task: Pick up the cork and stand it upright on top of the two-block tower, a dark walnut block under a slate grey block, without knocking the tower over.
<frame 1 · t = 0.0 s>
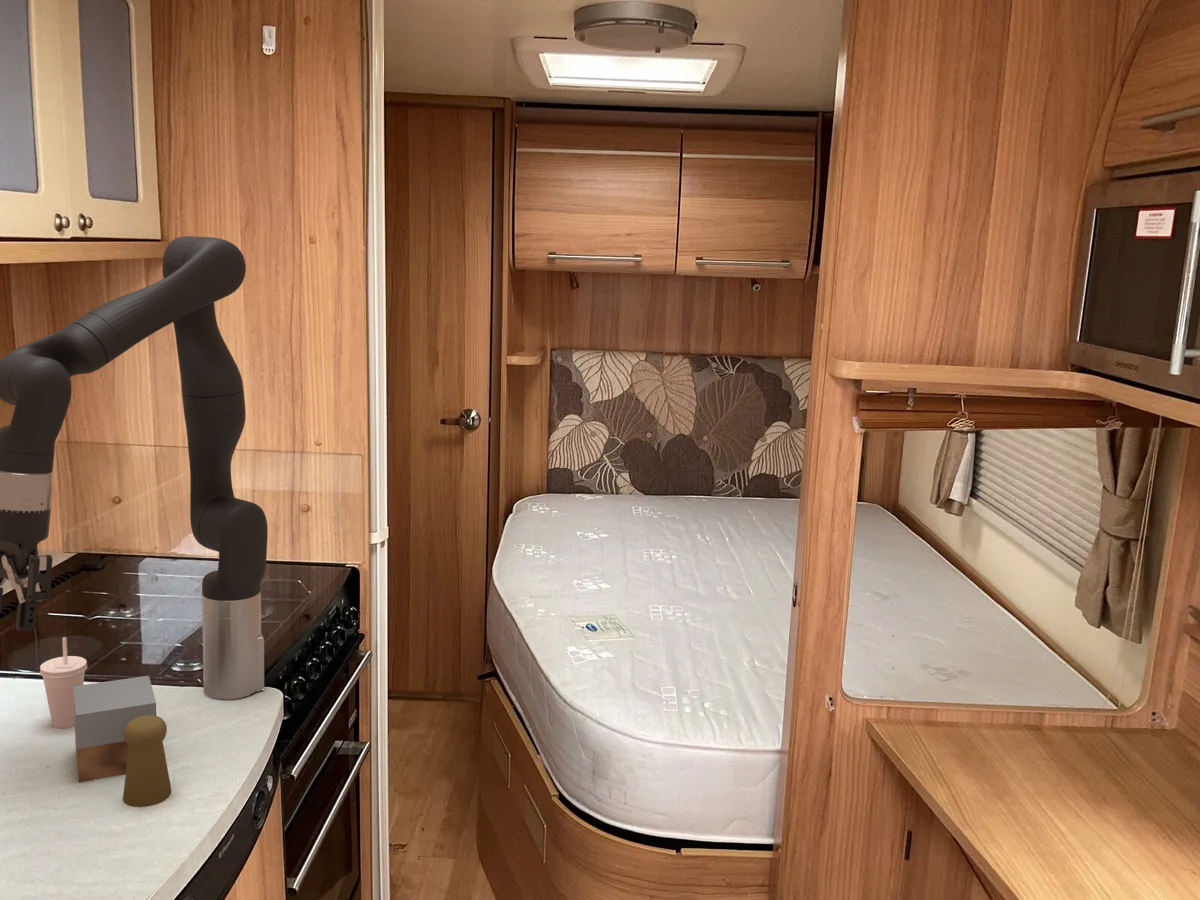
hand: (7, 622, 131), 22 cm above the worktop, tool pointing down, fingers open, 8 cm apart
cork: (147, 796, 132), on the worktop
smoothie: (66, 723, 150), on the worktop
walnut base block: (116, 758, 141), on the worktop
slate top block: (115, 726, 140), point 5 cm above the worktop, touching walnut base block
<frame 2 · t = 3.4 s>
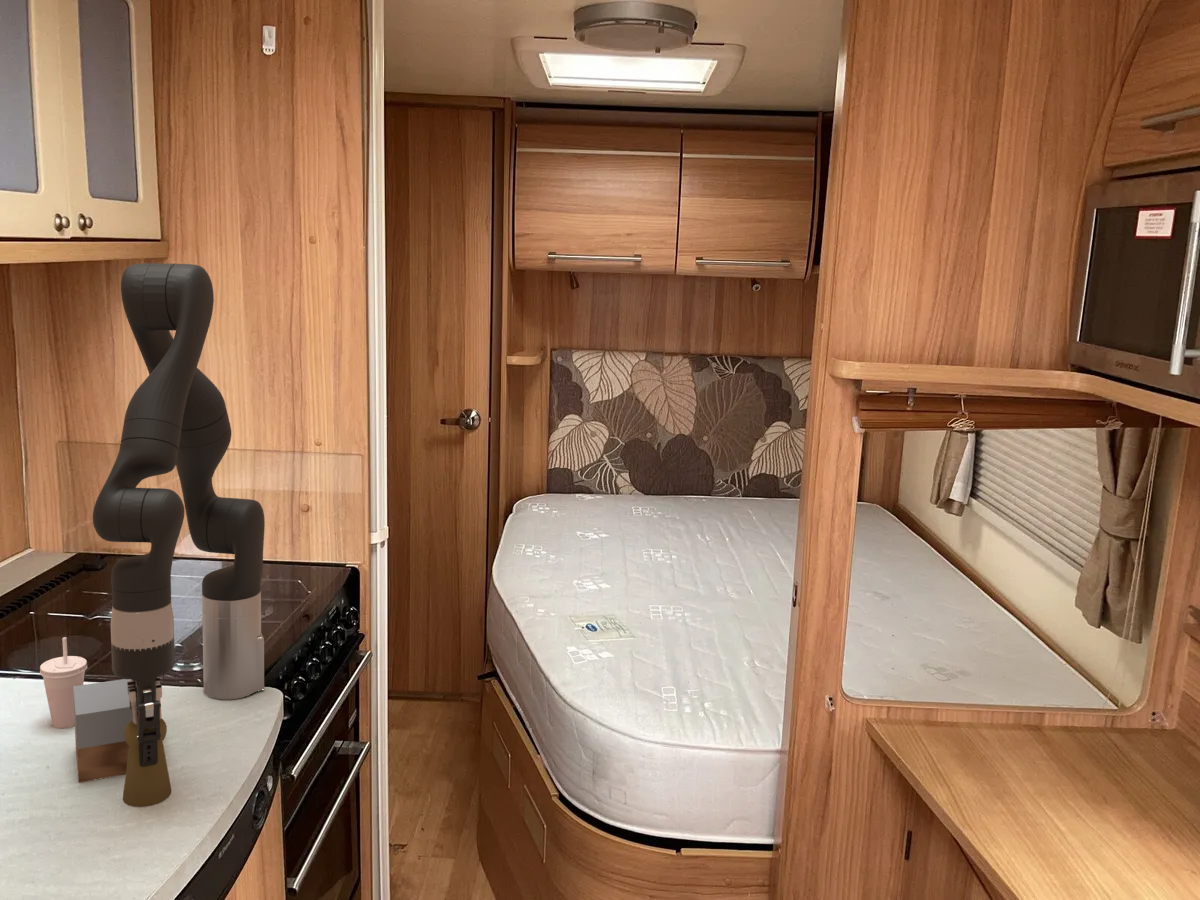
hand: (146, 754, 131), 6 cm above the worktop, tool pointing down, fingers closed on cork, 5 cm apart
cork: (147, 796, 132), on the worktop, touching gripper
everything else where it was.
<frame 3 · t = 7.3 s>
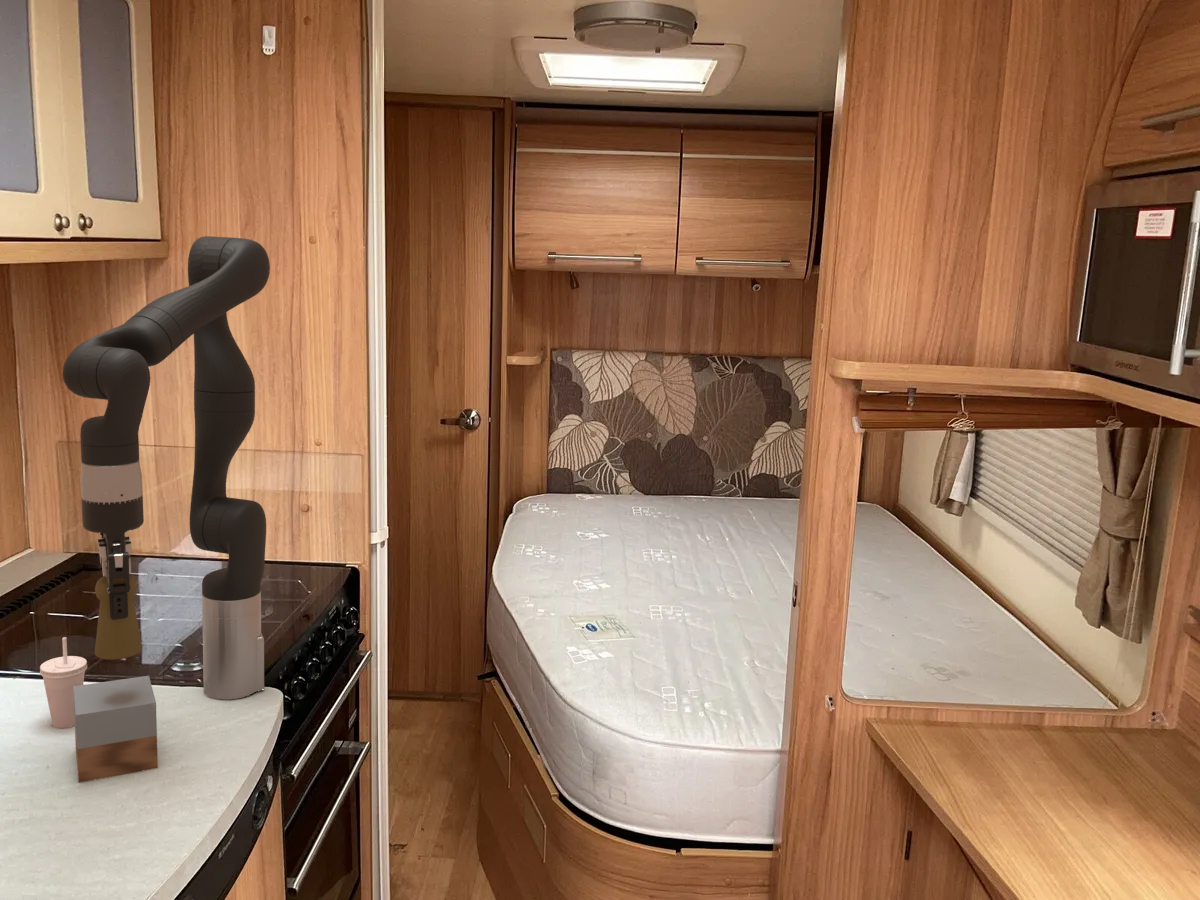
hand: (117, 610, 135), 23 cm above the worktop, tool pointing down, fingers closed on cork, 5 cm apart
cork: (118, 652, 137), point 17 cm above the worktop, touching gripper
everything else where it was.
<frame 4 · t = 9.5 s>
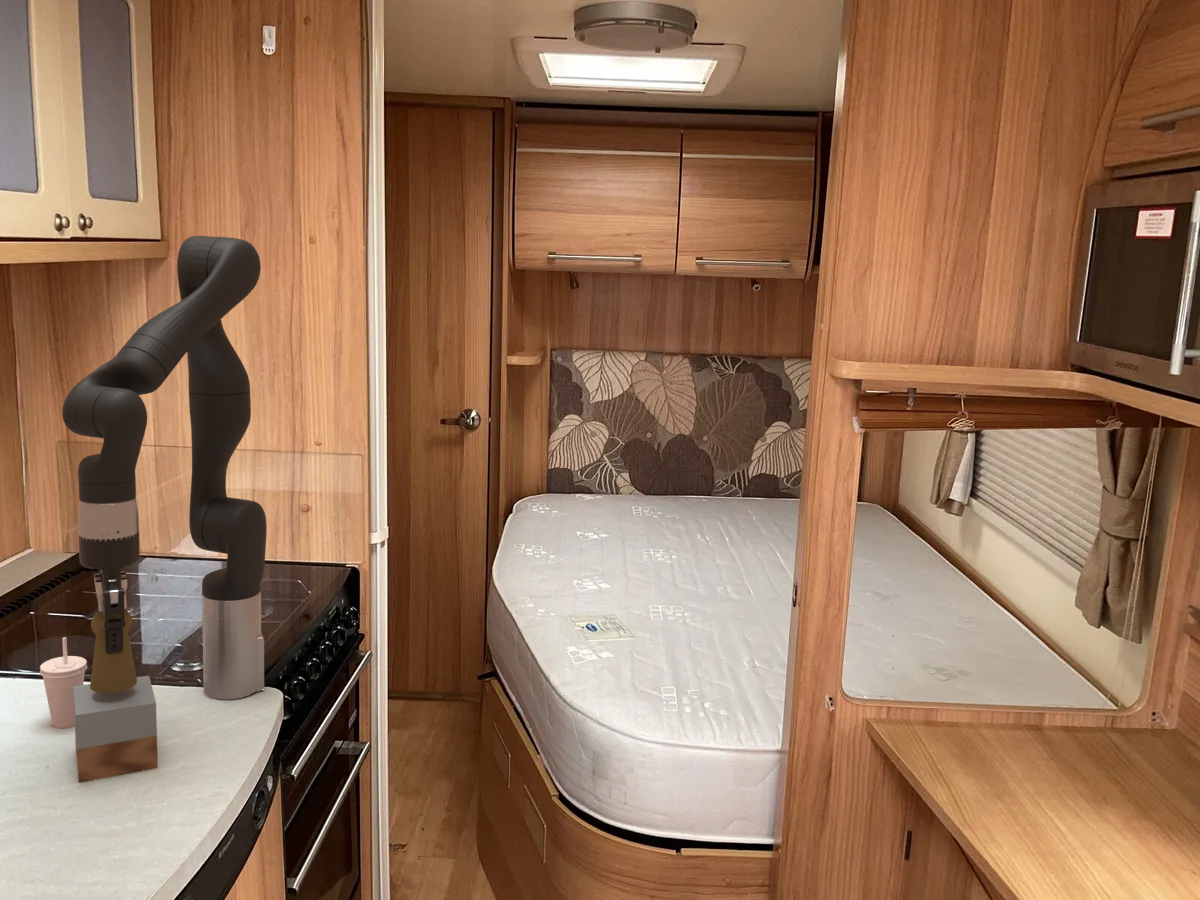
hand: (112, 644, 138), 17 cm above the worktop, tool pointing down, fingers closed on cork, 5 cm apart
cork: (113, 685, 139), point 11 cm above the worktop, touching gripper
everything else where it was.
when the fingers open (16 cm above the worktop, at t = 11.3 s): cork stays where it is, resting on slate top block.
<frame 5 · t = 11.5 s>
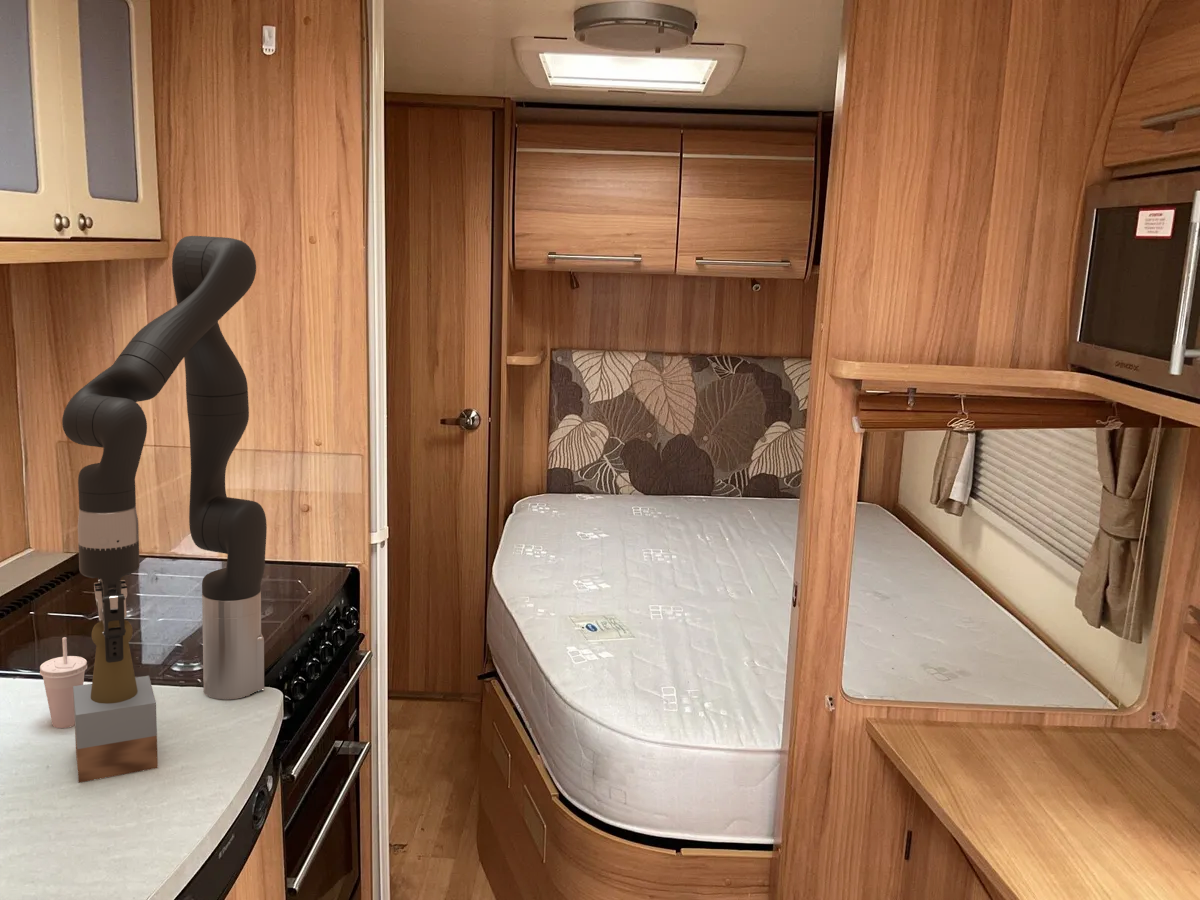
hand: (112, 651, 138), 17 cm above the worktop, tool pointing down, fingers open, 7 cm apart
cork: (114, 695, 139), point 10 cm above the worktop, touching slate top block
slate top block: (115, 726, 140), point 5 cm above the worktop, touching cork, walnut base block
everything else where it was.
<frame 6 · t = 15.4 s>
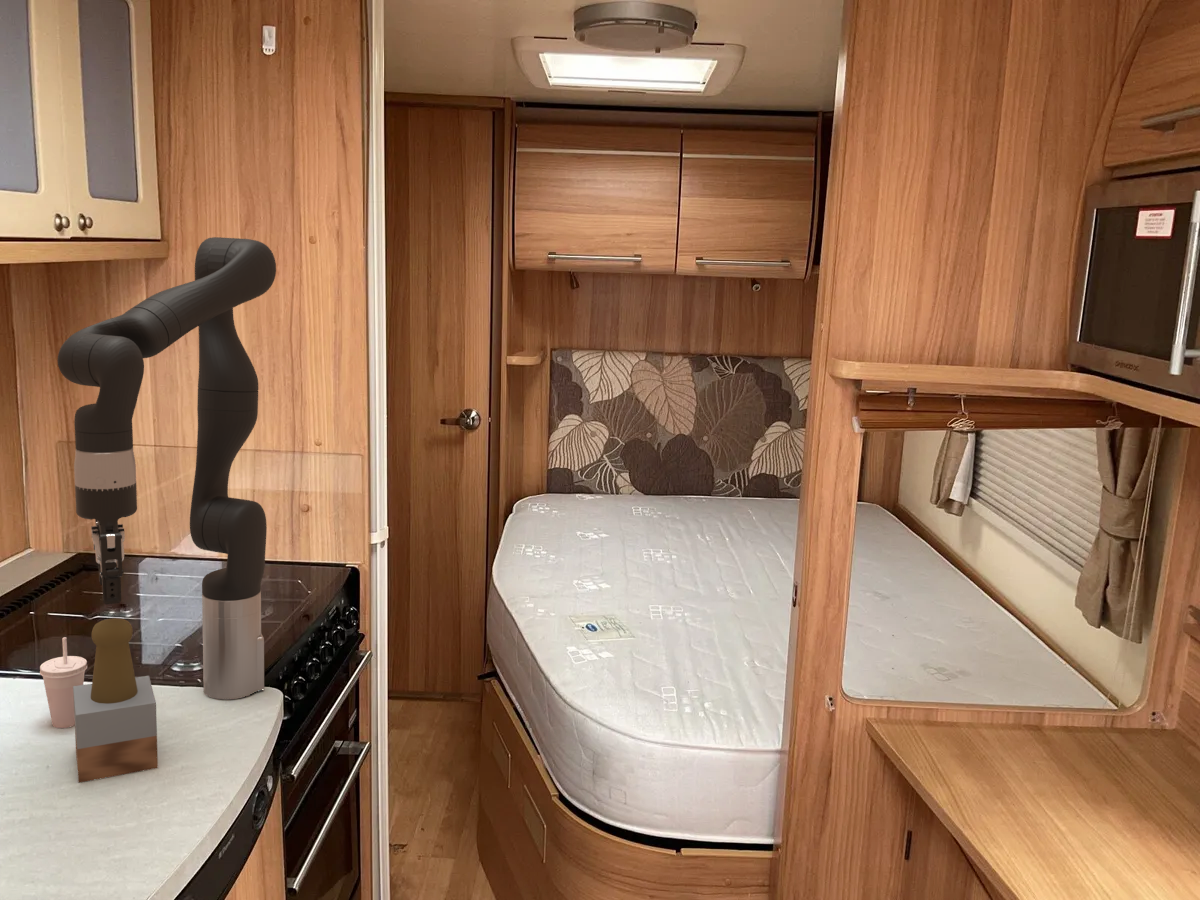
hand: (110, 593, 136), 25 cm above the worktop, tool pointing down, fingers open, 8 cm apart
nothing on the worktop moved.
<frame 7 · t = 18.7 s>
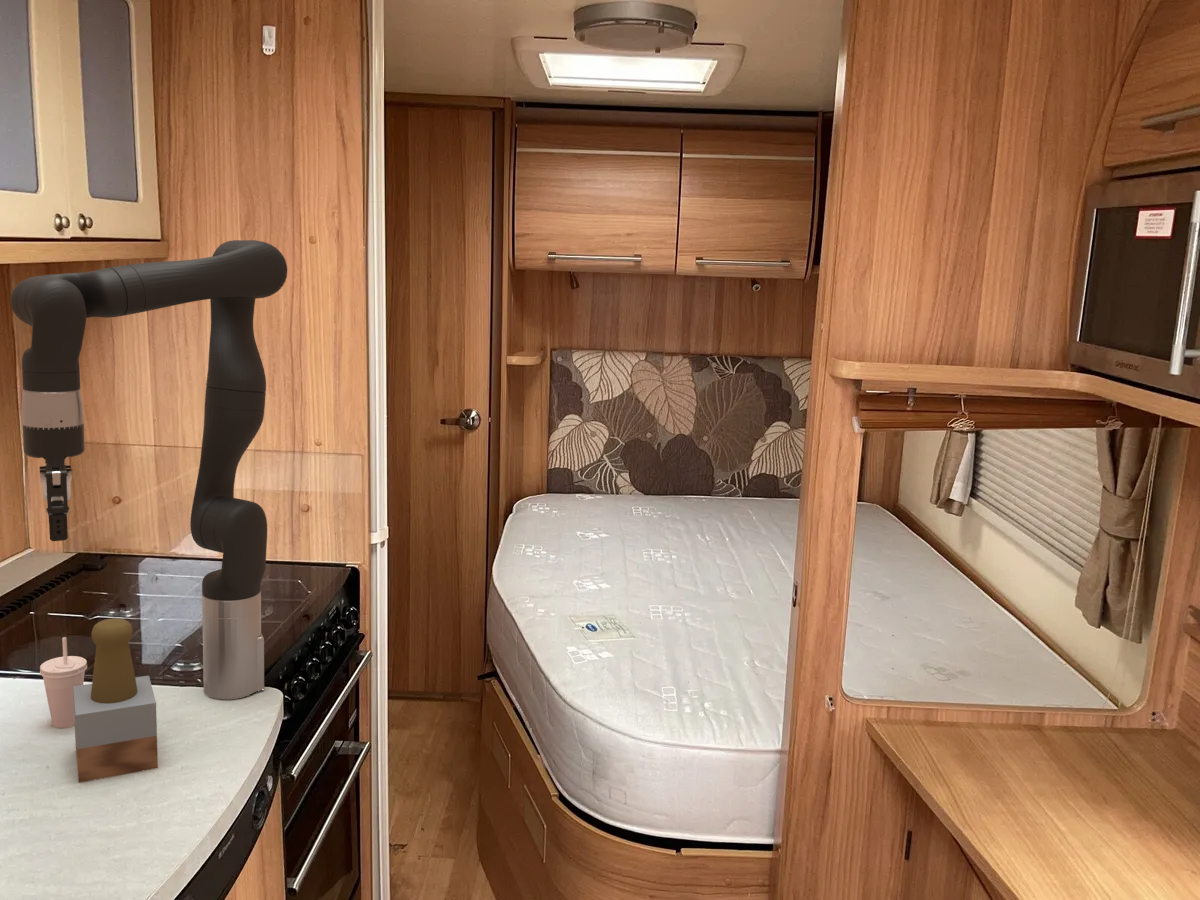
hand: (58, 532, 139), 32 cm above the worktop, tool pointing down, fingers open, 8 cm apart
nothing on the worktop moved.
at the end: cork 0.0 cm off-centre on the walnut base block, point 9.8 cm above the walnut base block's base; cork tilted 0°; slate top block 0.0 cm off-centre on the walnut base block, point 5.0 cm above the walnut base block's base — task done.
